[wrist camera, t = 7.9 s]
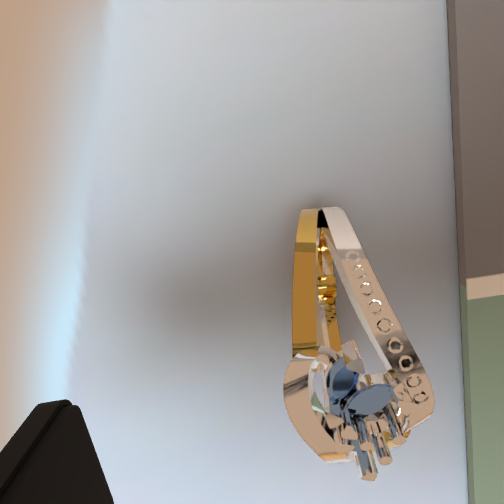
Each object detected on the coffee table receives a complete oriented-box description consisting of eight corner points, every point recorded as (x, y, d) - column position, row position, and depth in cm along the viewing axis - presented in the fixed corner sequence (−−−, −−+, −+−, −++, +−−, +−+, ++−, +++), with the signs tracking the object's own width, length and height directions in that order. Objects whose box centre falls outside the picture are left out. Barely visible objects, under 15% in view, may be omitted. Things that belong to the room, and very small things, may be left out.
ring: (365, 356, 17) (441, 550, 9) (285, 361, 17) (296, 554, 10) (362, 183, 15) (456, 252, 7) (271, 191, 15) (271, 267, 8)
